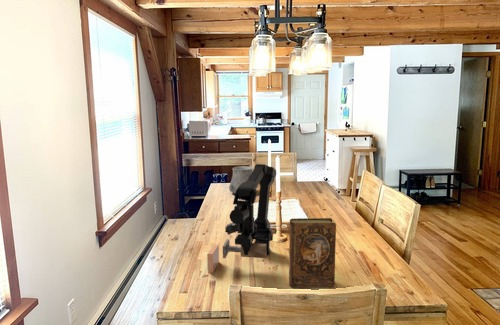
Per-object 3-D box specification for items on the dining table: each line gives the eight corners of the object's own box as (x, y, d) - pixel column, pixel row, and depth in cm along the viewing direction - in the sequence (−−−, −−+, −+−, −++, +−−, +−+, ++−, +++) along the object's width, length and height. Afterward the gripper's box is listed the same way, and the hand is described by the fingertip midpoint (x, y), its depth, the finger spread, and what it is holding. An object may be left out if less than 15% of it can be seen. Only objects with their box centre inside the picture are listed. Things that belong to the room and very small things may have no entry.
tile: (219, 262, 160) (218, 244, 158) (213, 272, 150) (212, 254, 148) (213, 261, 160) (213, 244, 159) (207, 272, 150) (207, 253, 149)
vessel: (248, 199, 263) (248, 171, 260) (223, 195, 275) (222, 168, 272) (263, 192, 282) (263, 166, 278) (239, 189, 293) (239, 164, 290)
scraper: (267, 252, 154) (267, 241, 154) (264, 260, 147) (264, 248, 146) (227, 250, 157) (227, 239, 156) (222, 258, 149) (222, 246, 148)
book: (290, 288, 137) (290, 223, 133) (288, 281, 142) (288, 218, 138) (334, 287, 137) (336, 222, 133) (330, 280, 143) (332, 217, 139)
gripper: (231, 209, 159) (232, 243, 162) (221, 223, 141) (222, 261, 144) (257, 210, 158) (257, 245, 160) (250, 224, 139) (250, 263, 142)
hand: (246, 253), depth 152 cm, fingers closed on scraper, 3 cm apart
